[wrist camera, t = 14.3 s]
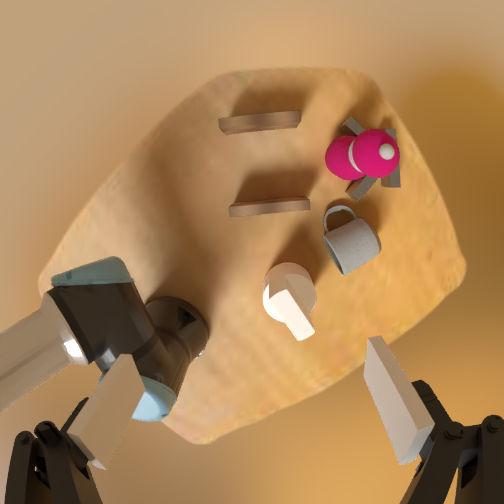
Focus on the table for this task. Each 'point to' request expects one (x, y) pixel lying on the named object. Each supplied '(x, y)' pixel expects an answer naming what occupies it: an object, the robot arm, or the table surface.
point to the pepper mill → (363, 155)
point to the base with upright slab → (290, 298)
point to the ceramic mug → (351, 242)
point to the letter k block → (366, 182)
